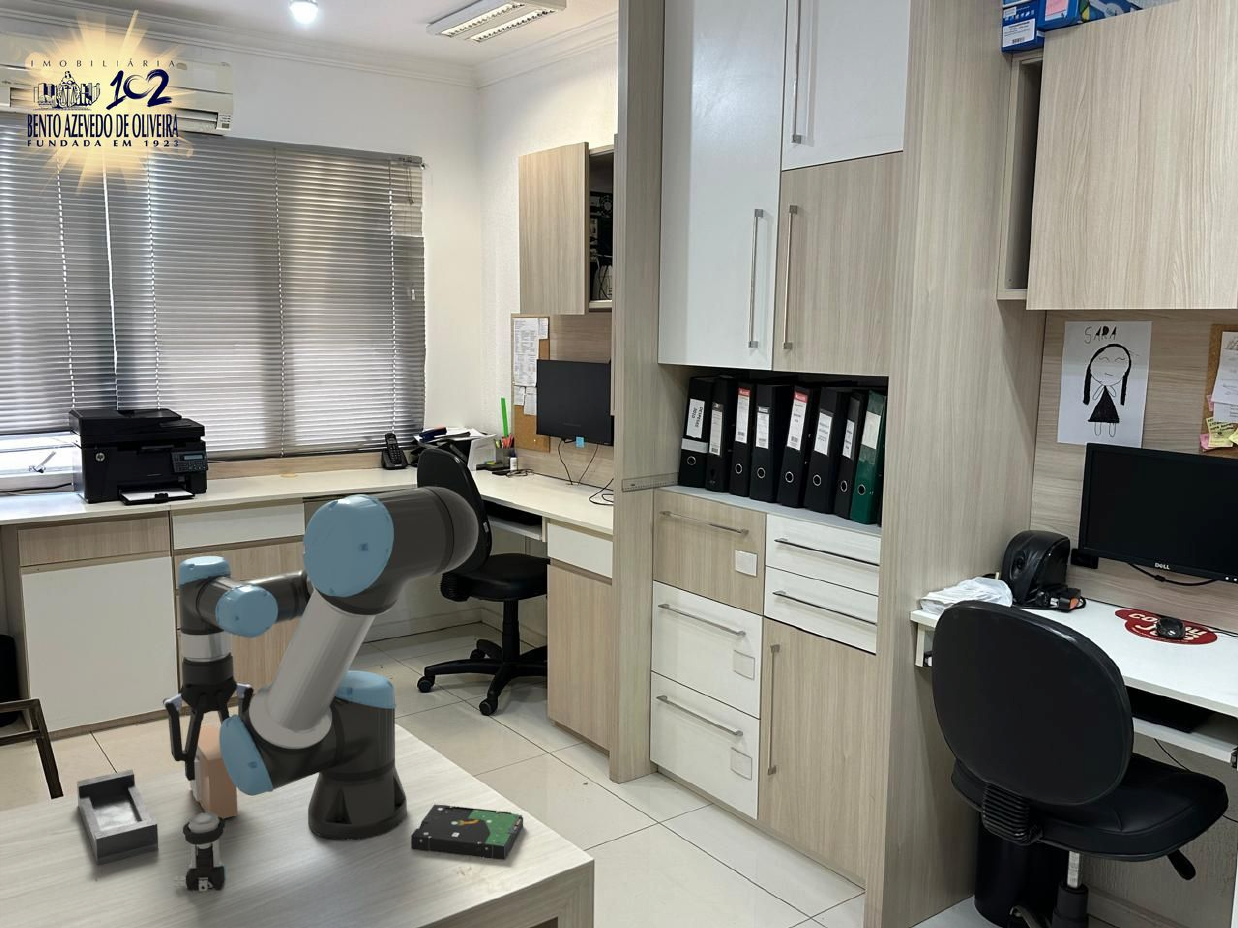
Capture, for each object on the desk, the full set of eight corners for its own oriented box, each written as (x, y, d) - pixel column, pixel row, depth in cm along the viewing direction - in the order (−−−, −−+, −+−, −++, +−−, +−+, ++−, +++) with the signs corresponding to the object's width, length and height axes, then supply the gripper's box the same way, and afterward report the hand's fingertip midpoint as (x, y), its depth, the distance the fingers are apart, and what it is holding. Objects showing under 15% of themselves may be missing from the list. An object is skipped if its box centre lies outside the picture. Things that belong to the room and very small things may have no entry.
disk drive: (410, 853, 146) (506, 863, 144) (409, 836, 145) (506, 845, 143) (433, 819, 156) (524, 827, 154) (433, 803, 156) (524, 811, 153)
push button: (170, 899, 132) (167, 829, 130) (181, 877, 137) (178, 810, 136) (222, 895, 133) (219, 827, 132) (231, 874, 138) (228, 807, 137)
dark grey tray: (158, 848, 144) (157, 823, 144) (97, 865, 140) (96, 838, 139) (133, 792, 161) (132, 769, 160) (78, 804, 156) (76, 781, 156)
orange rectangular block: (237, 814, 154) (235, 754, 152) (210, 821, 151) (208, 760, 150) (215, 780, 165) (213, 724, 164) (190, 786, 163) (187, 729, 161)
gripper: (256, 638, 163) (260, 771, 166) (143, 657, 153) (150, 797, 156) (269, 651, 157) (273, 788, 160) (153, 671, 147) (160, 817, 150)
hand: (212, 793), depth 158 cm, fingers closed on orange rectangular block, 4 cm apart
